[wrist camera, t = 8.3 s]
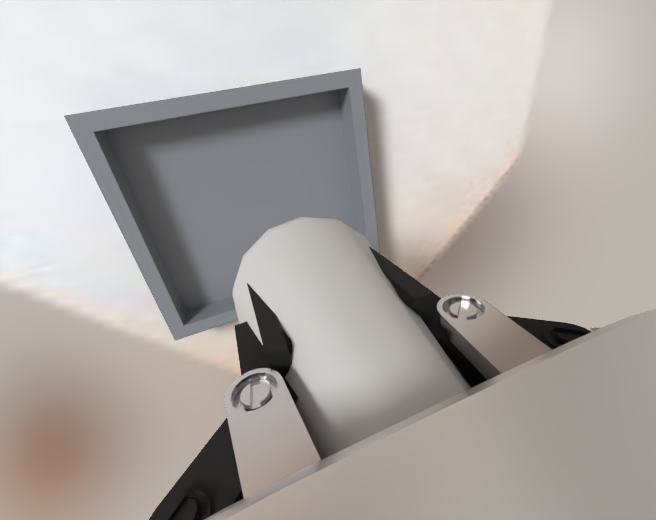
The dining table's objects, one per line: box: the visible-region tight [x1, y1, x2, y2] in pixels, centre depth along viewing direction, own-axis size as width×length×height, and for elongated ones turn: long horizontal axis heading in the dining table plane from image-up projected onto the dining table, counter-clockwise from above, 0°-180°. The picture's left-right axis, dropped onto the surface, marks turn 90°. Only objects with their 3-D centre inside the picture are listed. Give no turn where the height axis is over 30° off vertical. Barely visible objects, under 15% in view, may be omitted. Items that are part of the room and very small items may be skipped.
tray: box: [64, 68, 380, 340], centre depth 24 cm, size 18×16×3 cm
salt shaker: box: [232, 217, 471, 460], centre depth 8 cm, size 6×6×13 cm
